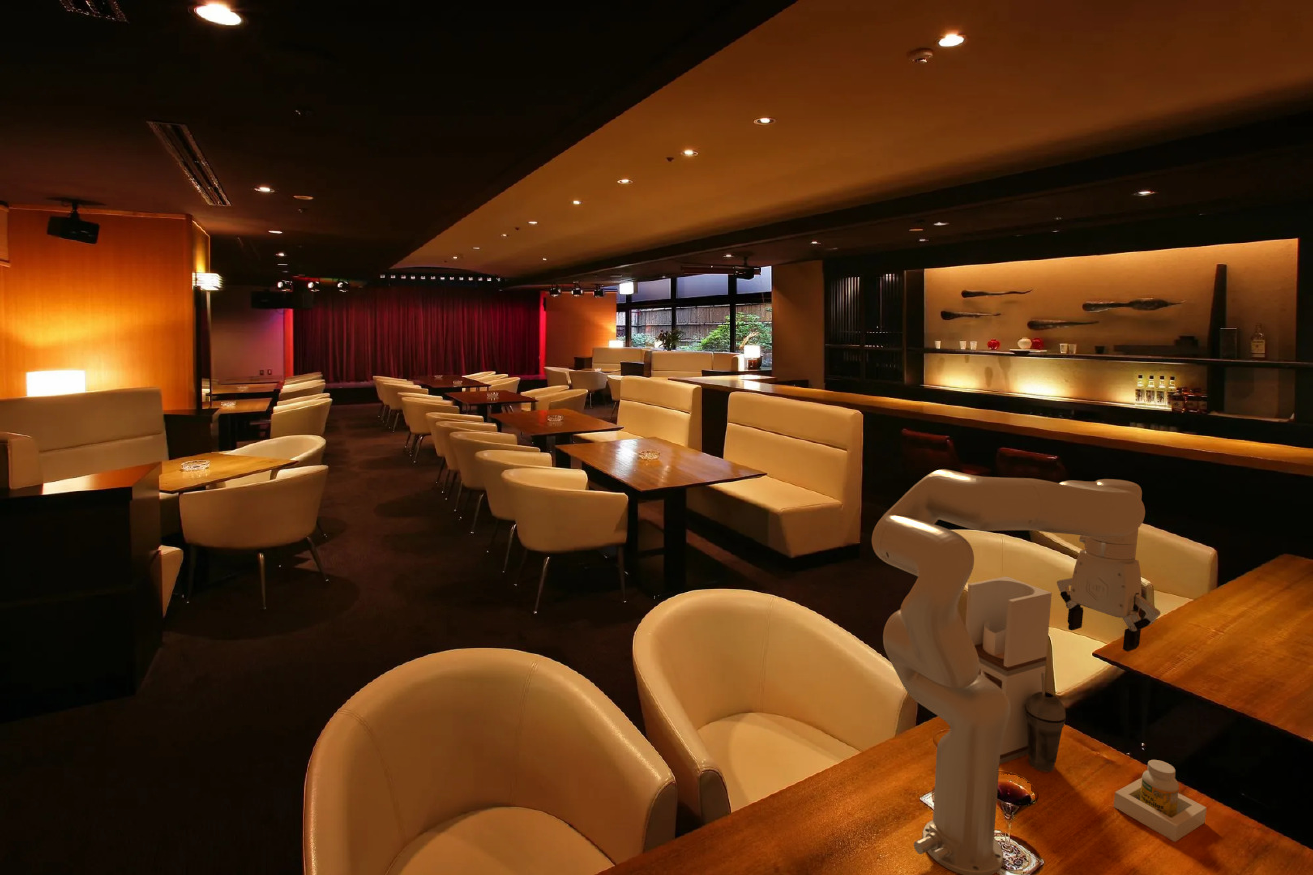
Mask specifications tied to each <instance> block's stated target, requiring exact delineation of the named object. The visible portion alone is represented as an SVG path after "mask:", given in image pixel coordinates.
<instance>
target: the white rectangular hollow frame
mask: <svg viewBox="0 0 1313 875" xmlns="http://www.w3.org/2000/svg"><path fill="white" fill-rule="evenodd" d="M1141 784H1142V777H1141V778H1139V779H1136V780H1135V781H1133V782H1131V783H1128V785H1126V786H1124V787H1122V788H1119V789H1118V790H1116V791H1115V792H1114V800H1113V807H1114V808H1115V809H1117V810H1118V809H1119V811H1120V812H1122V813H1123V814H1126V815H1127V816H1128V817H1131V818H1132V819H1135V820H1136V821H1138V822H1139V823H1141V824H1143V825H1145V826H1146V827H1148V828H1150V829H1151V830H1153V831H1155V832H1157V833H1158V834H1160V835H1162V836H1164V837H1166V838H1167V839H1169V840H1171V841H1172V842H1174V843H1175V842H1177V841H1179V840H1180V839H1181V838H1184V837H1185V836H1186V835H1188V834H1189V833H1191V832H1193V831H1194V830H1196V829H1197V828H1198V827H1200V826H1202V825H1204V824H1205V823H1206V814H1207V807H1206V806H1204V805H1203V804H1200V803H1198V802H1197V801H1195V800H1193V799H1191V798H1189V797H1187V796H1185V795H1183V794H1181V793H1179V792H1178V802H1177V813H1176V815H1175V816H1174V817H1172V818H1171V817H1169V816H1167V815H1165V814H1163V813H1162V812H1160V811H1158V810H1156V809H1154V808H1152V807H1151V806H1149V805H1147V804H1145V803H1143V802H1142V801H1140V796H1141Z"/></svg>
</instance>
